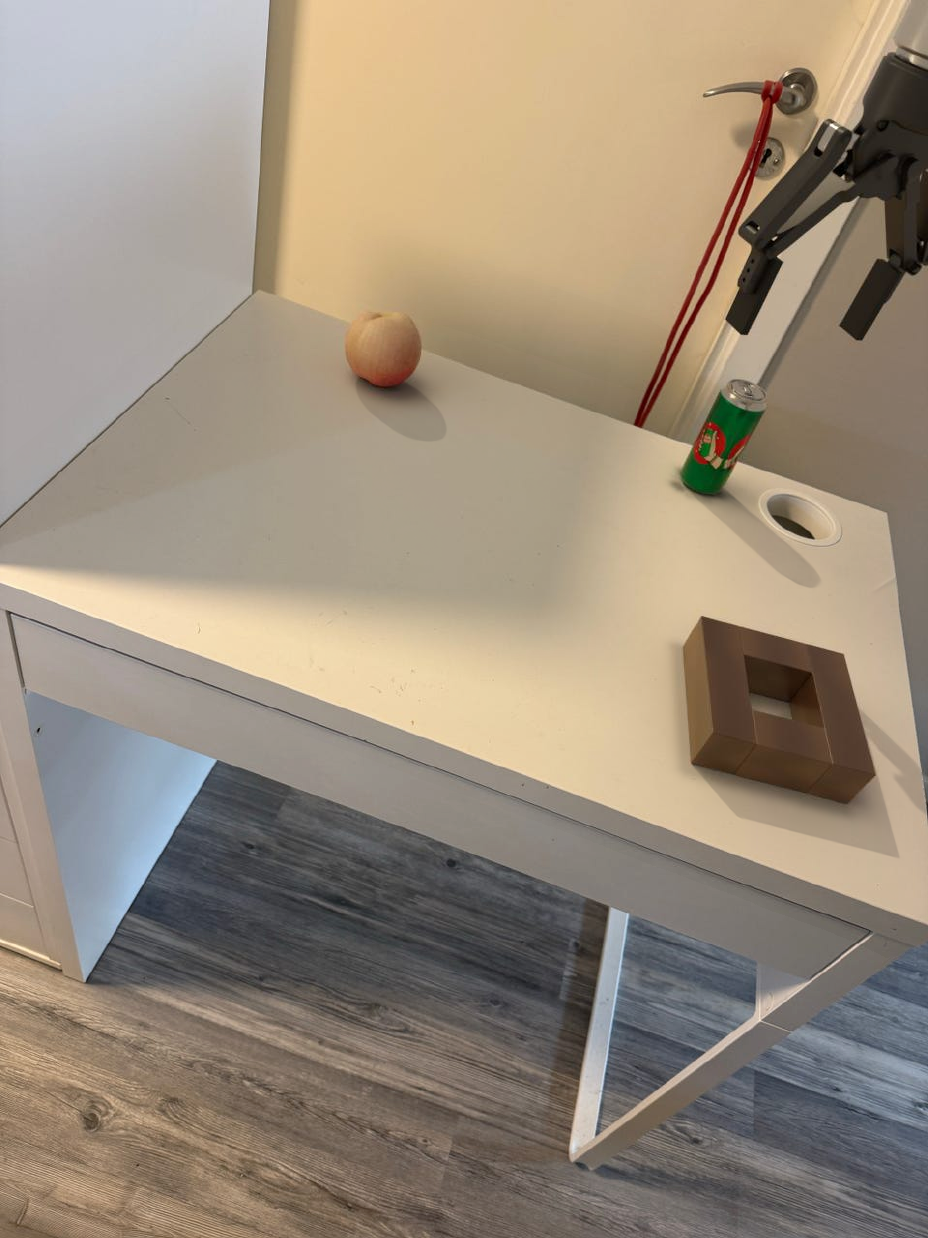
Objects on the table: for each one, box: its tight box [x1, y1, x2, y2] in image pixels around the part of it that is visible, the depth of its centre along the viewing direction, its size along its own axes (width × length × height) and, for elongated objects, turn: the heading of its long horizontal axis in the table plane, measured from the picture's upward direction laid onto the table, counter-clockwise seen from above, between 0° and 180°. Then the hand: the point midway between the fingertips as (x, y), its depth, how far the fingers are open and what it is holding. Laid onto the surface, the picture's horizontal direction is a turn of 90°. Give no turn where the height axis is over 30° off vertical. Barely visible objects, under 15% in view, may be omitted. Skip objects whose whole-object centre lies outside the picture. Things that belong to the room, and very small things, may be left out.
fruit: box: [344, 311, 423, 388], centre depth 93 cm, size 8×8×8 cm
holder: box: [682, 615, 877, 804], centre depth 69 cm, size 13×13×4 cm
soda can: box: [680, 378, 769, 496], centre depth 91 cm, size 5×5×12 cm
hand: (794, 330), depth 77 cm, fingers open, 13 cm apart
